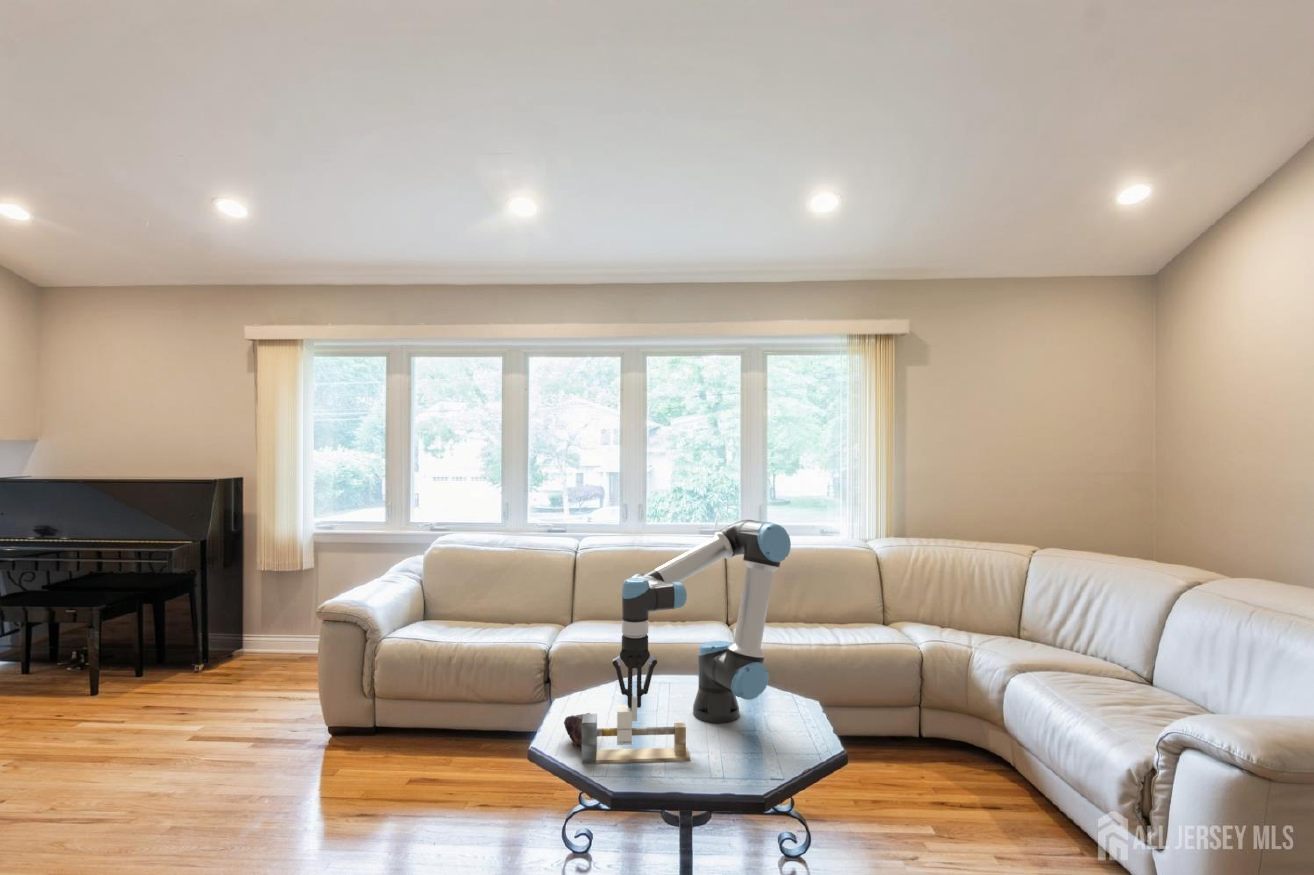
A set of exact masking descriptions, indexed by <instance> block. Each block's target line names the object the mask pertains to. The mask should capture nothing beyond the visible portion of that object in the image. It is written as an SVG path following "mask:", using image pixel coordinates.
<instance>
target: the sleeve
mask: <svg viewBox="0 0 1314 875" xmlns="http://www.w3.org/2000/svg"><path fill="white" fill-rule="evenodd" d="M616 708H617V709H616V710H617V711H616V713H617V714H616V723H617V724H616V728H617V736H616V742H617V743H616V744H617V746H628V745H629V746H631V745H632V743H633V740H632V739H633V736H632V728H633V721H632V708H628V704H617V707H616Z"/></svg>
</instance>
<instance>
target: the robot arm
mask: <svg viewBox="0 0 1314 875" xmlns="http://www.w3.org/2000/svg"><path fill="white" fill-rule="evenodd" d="M791 545H792V544H791V537H790V535H789V533H788V532H787V530H786V529H785V528H784V526H782V525H780V524H777V523H774V522H771V521H760V520H753V519H743V520H740V521H736V522H734V523H732V524H729V525H727V526H726V527H724V528H722V529H720V530H717V531H715V532H714V533H713V536H712V537H711V538H710V539H708V540H706V541H704V542H702V543H701V544H700V543H699V545H697V546H695V547H692V548H691V549H690V550H687V551H686V552H684V553H682V554H681V555H678V556H677V557H674V558H673V559H672V560H669V561H667V562H666V563H664V564H662V565H660V566H658V567H656V568H655V569H653V570H650V571H649V572H647V573H636V574H634V575H632V576H631V577H630V578H626V579H625V580H624V581H623V583H622V591H621V592H622V593H621V602H622V603H621V604H622V605H621V607H622V608H621V610H622V611H621V612H622V613H621V633H622V635H621V650H620V652H619V655H618V656H617V657H614V658H612V666H613V667H614V668H615V671H616V675H617V680H618V684H619V687H620V693H621V695H624V696H626V697H627V705H628V708H632V722H638V709H639V708H641V707H642V697H643V695H647V694H648V692H649V688H650V685H651V681H652V676H653V673H654V669H655V667H656V666H657V664H658V660H657V657H655V656H652V655H650V651H649V635H648V634H649V617H650V616H649V613H650V612H657V611H666V610H667V611H669V610H675V609H680V608H683V607H684V606H685V605H686V603H687V598H688V594H687V589H686V587H685V584H683V583H682V582H683V581H686V580H688V579H690V578H691V577H692V576H694V575H696V574H698V573H699V572H702V571H703V570H705V569H707V568H708V567H709V568H710V567H711V566H712V565H714V564H716V563H717V562H720V561H721V560H723V559H727V560H729V559H731V558H733V557H735V556H740V555H743V558H742V561H743V563H744V564H745V566H746V570H745V574H744V575H745V576H744V581H743V587H742V592H741V599H740V603H739V609H738V614H737V620H736V625H735V626H736V627H735V631H734V632H735V633H734V638H733V642H731V641H727V640H726V641H725V640H713V641H712V640H711V641H706V642H703V643H701V644H700V645H699V647H698V654H697V656H698V689H697V692H696V695H695V698H694V702H693V705H692V713H693V716H694V717H695V718H697V719H699V720H700V721H703V722H707V723H713V724H714V723H715V724H716V723H717V724H719V723H720V724H723V723H729V722H733V721H735V720H737V719H738V718H739V716H740V707H739V703H738V699H737V698H741V699H743V700H747V701H751V700H755V699H756V698H758V697H759V696H760V695H762V693H763V692H764V691H765V689H767V686H768V683H769V680H770V679H769V677H770V676H769V675H770V674H769V671H768V669H767V667H766V666H765V665H764V661H765V654H764V652H763V651H762V649H761V648H762V643H763V637H764V631H765V624H766V620H767V619H766V618H767V614H768V613H767V612H768V609H769V608H768V607H769V602H770V596H771V590H772V589H771V588H772V584H773V578H774V573H775V571H777V570H778V569H780V566H781V562H782V561H784V560H785V559H786V557H788V556H789V554H790V552H791ZM622 662H623V663H624V665H625V666H626V668H627V688H626V686H625V680H624V676H623V673H622V668H621V664H622ZM646 663H648V667H647V671H646V675H645V679H644V683H643V684H644V685H643V686H642V672H643V671H642V670H643V669H642V668H643V667H644V666H645V664H646ZM633 669H636V693H633ZM642 687H643V688H642Z"/></svg>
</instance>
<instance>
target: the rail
mask: <svg viewBox="0 0 1314 875" xmlns="http://www.w3.org/2000/svg"><path fill="white" fill-rule="evenodd" d="M582 714H583V718H582V746H581V764H582V763H583V764H611V763H614V764H615V763H618V764H619V763H642V762H643V763H645V762H646V763H647V762H650V763H651V762H653V763H654V762H680V761H681V762H682V761H691V756H690V753H689V748H688V747H687V726H686V723H685V722H674V724H673V726H651V727H650V726H648V727H645V726H643V727H632V737H633V736H663V735H664V736H669V735H670V736H671V735H674V736H673V738H674V739H673V747H660V748H659V747H655V748H623V749H622V748H620V749H614V748H613V749H598V746H597V745H598V737H617V727H612V728H611V727H610V728H609V727H607V728H606V727H604V728H598V713H590V714H587V713H582Z"/></svg>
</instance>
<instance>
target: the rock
mask: <svg viewBox="0 0 1314 875" xmlns="http://www.w3.org/2000/svg"><path fill="white" fill-rule="evenodd" d="M583 714H584V713H582V714H581V713H580V714H577V715H568V716H566V717H565V719H564V721H563V724H564V729H565V731H566V732H567V735H568V736H569V738H570V740H571V741H572V744H573V745H574V746H581V747H582V718H583ZM586 714H591V713H590V712H588V713H586Z"/></svg>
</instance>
